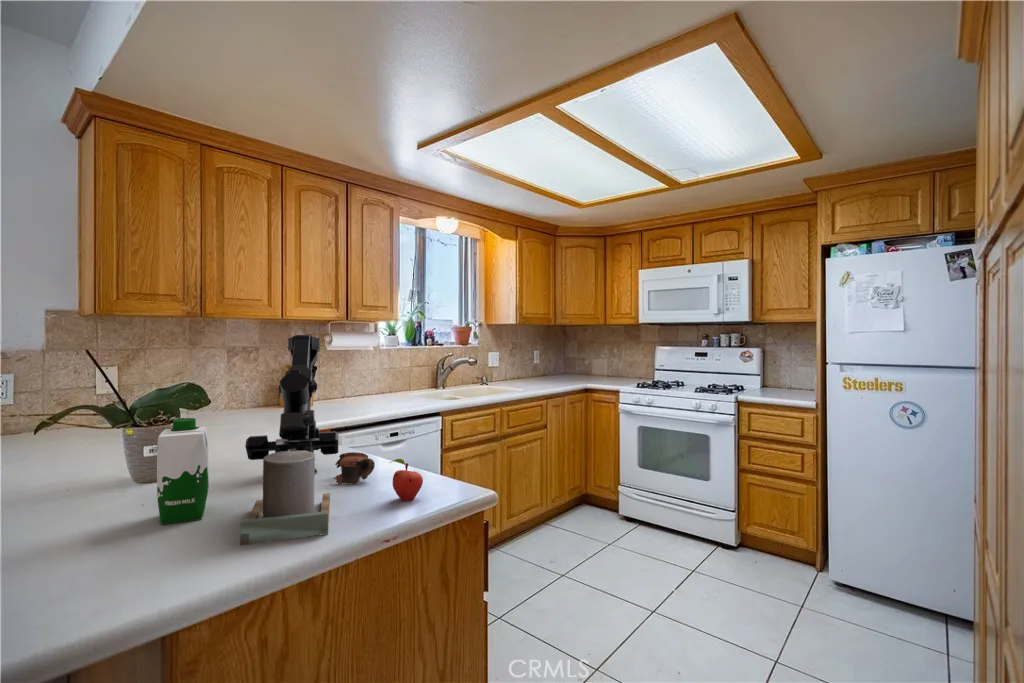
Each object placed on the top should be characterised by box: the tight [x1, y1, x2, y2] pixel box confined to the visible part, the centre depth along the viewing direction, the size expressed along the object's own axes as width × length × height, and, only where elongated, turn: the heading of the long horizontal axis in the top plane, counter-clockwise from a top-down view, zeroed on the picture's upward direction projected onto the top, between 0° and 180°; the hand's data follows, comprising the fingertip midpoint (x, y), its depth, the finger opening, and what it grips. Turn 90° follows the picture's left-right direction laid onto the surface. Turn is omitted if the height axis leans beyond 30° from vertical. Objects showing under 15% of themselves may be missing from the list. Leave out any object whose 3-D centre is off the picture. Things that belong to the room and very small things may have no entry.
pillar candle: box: [262, 450, 316, 518], centre depth 99 cm, size 10×10×15 cm
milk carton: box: [155, 417, 210, 526], centre depth 102 cm, size 9×9×20 cm
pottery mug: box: [334, 451, 376, 485], centre depth 128 cm, size 12×10×8 cm
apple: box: [388, 458, 424, 502], centre depth 113 cm, size 8×7×10 cm
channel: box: [239, 492, 331, 546], centre depth 100 cm, size 19×15×4 cm
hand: (291, 479), depth 104 cm, fingers closed, pressing on pillar candle
